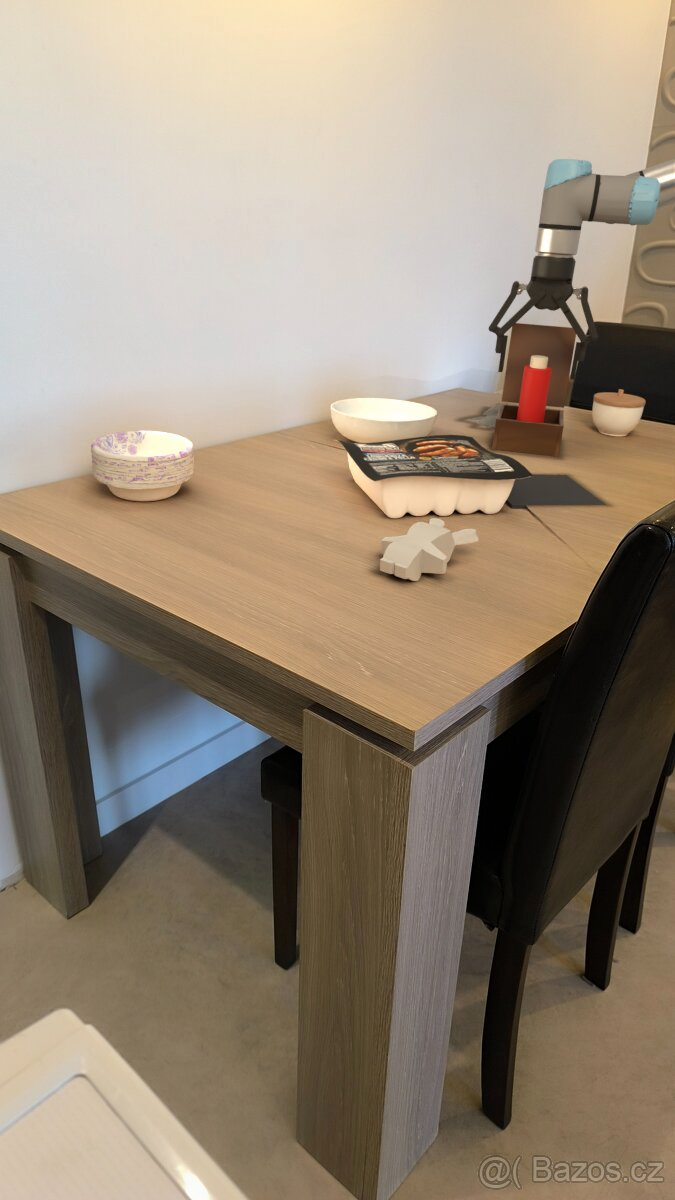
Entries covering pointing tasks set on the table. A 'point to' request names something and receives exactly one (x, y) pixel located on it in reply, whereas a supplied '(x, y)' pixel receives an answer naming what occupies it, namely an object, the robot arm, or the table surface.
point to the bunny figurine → (422, 549)
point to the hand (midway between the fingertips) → (536, 374)
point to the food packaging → (433, 475)
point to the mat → (549, 492)
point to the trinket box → (616, 412)
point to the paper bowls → (142, 464)
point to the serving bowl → (382, 419)
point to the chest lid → (543, 343)
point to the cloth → (489, 416)
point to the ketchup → (534, 390)
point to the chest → (528, 432)
